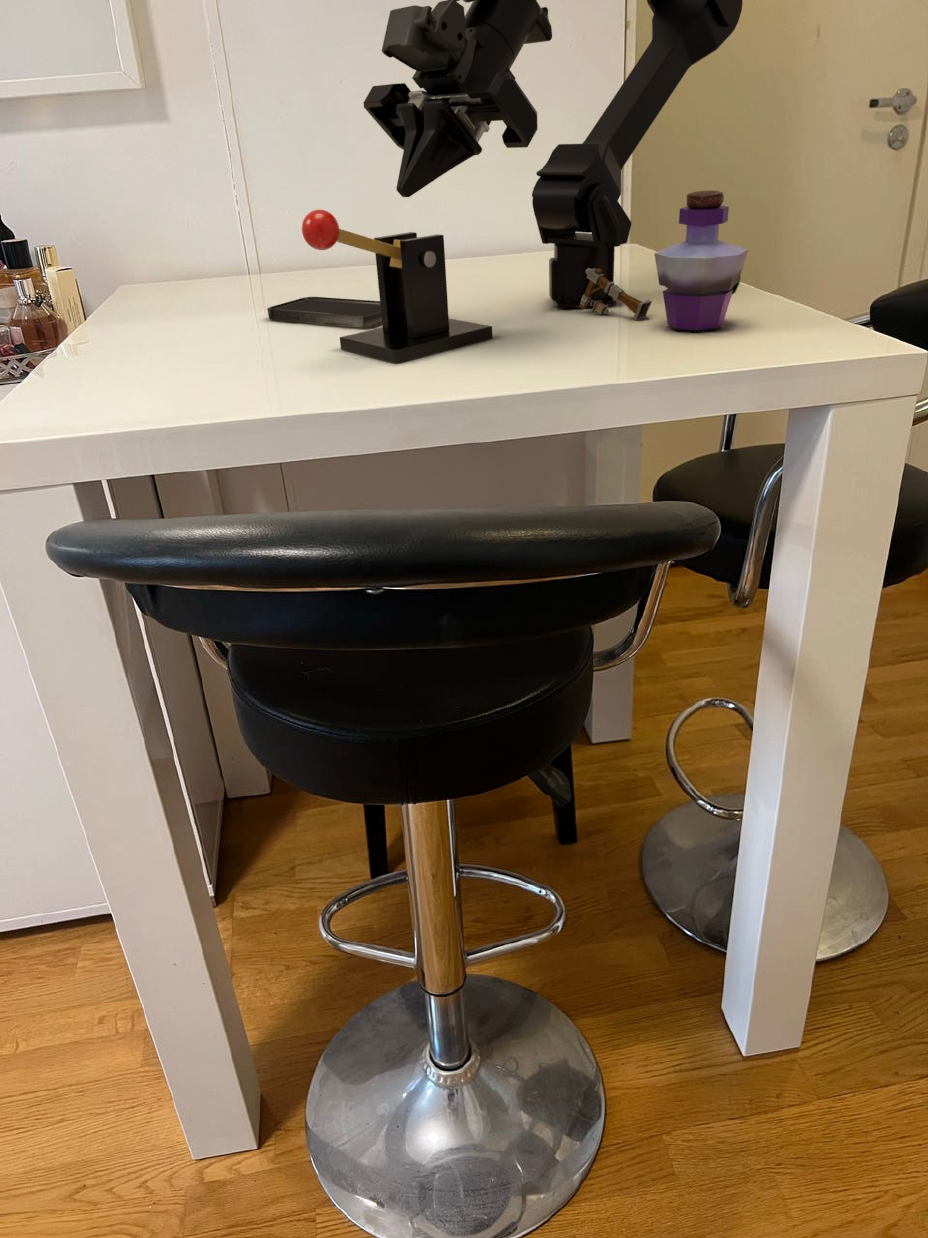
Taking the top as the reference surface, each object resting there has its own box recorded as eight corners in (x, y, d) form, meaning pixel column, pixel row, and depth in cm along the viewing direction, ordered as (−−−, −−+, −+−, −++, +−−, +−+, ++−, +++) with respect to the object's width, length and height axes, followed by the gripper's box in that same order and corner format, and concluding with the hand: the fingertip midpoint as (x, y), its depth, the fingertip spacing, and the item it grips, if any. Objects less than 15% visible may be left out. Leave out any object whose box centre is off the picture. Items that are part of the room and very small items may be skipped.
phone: (308, 296, 106) (409, 302, 99) (309, 305, 107) (410, 313, 99) (262, 309, 101) (365, 317, 93) (263, 319, 101) (366, 328, 94)
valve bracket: (396, 363, 81) (385, 248, 76) (340, 349, 87) (327, 241, 82) (493, 338, 87) (488, 230, 82) (435, 326, 93) (428, 225, 88)
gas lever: (312, 246, 74) (318, 205, 73) (292, 243, 77) (297, 204, 76) (428, 279, 83) (435, 243, 82) (407, 276, 85) (414, 241, 85)
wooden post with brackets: (579, 300, 96) (594, 261, 93) (635, 338, 94) (652, 299, 90) (569, 303, 95) (584, 263, 92) (626, 342, 93) (643, 302, 89)
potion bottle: (759, 324, 86) (774, 187, 80) (701, 340, 82) (712, 197, 76) (690, 313, 92) (699, 185, 86) (632, 327, 88) (637, 194, 82)
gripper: (367, -18, 81) (283, 130, 80) (507, -52, 68) (408, 122, 68) (441, 79, 89) (365, 213, 89) (578, 64, 76) (490, 220, 76)
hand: (402, 193), depth 80 cm, fingers closed
